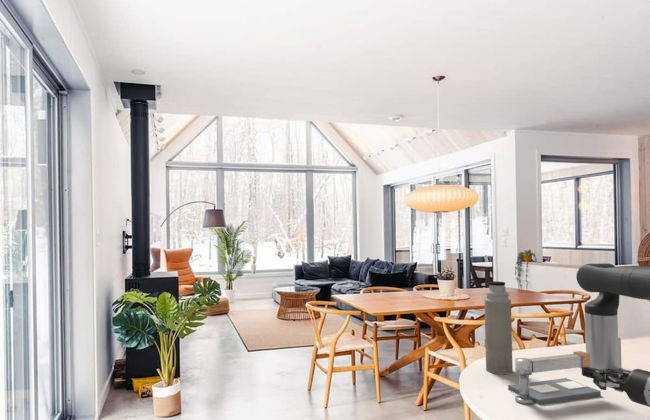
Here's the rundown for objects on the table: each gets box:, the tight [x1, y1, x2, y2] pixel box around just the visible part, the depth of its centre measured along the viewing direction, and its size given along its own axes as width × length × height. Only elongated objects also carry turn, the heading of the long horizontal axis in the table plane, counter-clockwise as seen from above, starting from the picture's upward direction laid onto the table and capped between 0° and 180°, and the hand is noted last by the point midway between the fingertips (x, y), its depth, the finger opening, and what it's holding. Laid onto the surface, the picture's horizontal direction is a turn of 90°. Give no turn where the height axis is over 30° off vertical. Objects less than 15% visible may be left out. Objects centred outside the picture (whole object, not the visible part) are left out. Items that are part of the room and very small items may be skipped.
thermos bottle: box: [484, 280, 514, 375], centre depth 153 cm, size 8×8×28 cm
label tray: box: [507, 377, 602, 405], centre depth 132 cm, size 20×12×2 cm, turn 107°
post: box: [514, 374, 535, 405], centre depth 126 cm, size 4×4×7 cm
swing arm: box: [514, 350, 590, 376], centre depth 129 cm, size 22×4×4 cm, turn 107°
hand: (583, 370), depth 122 cm, fingers closed
